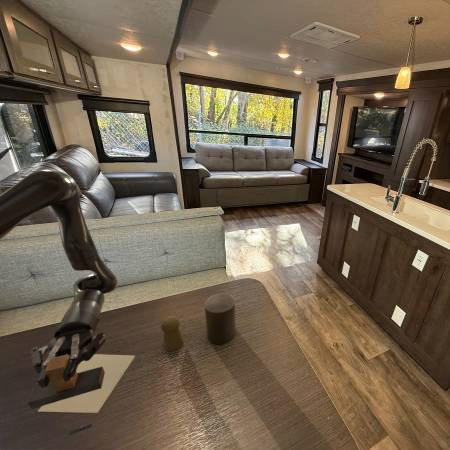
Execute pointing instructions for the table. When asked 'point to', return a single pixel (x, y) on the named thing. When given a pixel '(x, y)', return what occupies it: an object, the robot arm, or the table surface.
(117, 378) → the memo board
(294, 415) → the table surface
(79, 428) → the mark
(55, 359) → the wooden handled grey block
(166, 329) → the cork
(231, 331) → the pillar candle
